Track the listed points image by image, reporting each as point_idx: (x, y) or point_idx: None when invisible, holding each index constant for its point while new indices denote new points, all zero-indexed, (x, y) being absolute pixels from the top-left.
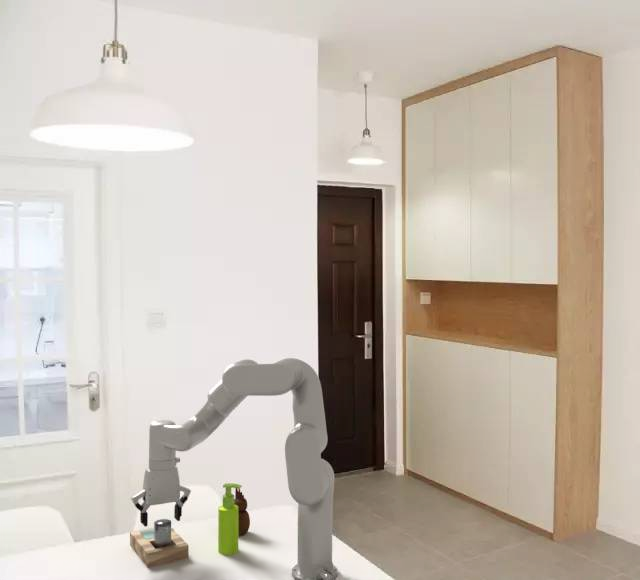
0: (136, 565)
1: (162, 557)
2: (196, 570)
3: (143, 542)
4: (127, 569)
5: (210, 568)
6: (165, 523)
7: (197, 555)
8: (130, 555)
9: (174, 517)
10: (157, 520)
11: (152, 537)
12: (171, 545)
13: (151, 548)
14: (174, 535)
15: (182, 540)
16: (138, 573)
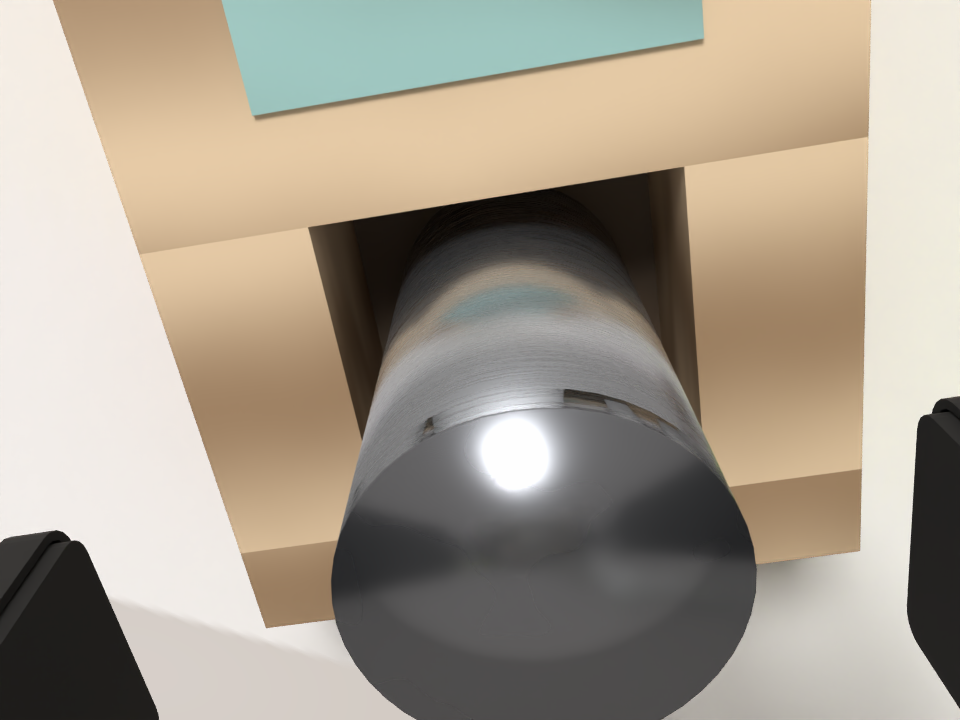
0: (180, 422)
1: None
2: (772, 710)
3: (211, 240)
4: (82, 487)
5: (912, 713)
6: (588, 691)
7: (926, 393)
8: (82, 88)
9: (921, 423)
10: (430, 454)
11: (378, 75)
12: (669, 230)
13: (330, 500)
14: (790, 103)
15: (841, 369)
16: (207, 605)
